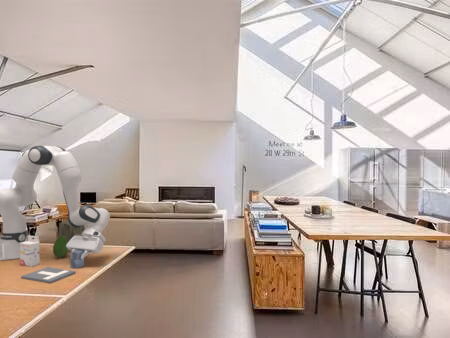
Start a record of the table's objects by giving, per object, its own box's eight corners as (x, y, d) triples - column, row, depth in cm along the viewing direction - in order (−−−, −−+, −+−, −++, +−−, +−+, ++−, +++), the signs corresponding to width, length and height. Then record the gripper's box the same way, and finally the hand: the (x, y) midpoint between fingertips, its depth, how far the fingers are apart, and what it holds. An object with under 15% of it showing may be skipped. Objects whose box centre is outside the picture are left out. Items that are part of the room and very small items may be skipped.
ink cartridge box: (19, 265, 162) (19, 237, 161) (28, 262, 166) (28, 235, 166) (31, 266, 159) (31, 238, 159) (39, 264, 163) (40, 236, 163)
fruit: (69, 254, 181) (69, 234, 181) (67, 258, 174) (67, 237, 174) (54, 256, 179) (54, 235, 179) (51, 259, 171) (51, 238, 171)
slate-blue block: (70, 267, 158) (70, 252, 158) (77, 265, 162) (77, 249, 162) (77, 268, 157) (77, 252, 157) (84, 266, 161) (84, 250, 161)
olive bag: (84, 249, 193) (84, 209, 193) (70, 252, 185) (71, 211, 185) (71, 246, 201) (71, 207, 201) (57, 249, 193) (57, 209, 193)
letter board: (21, 278, 142) (21, 276, 142) (47, 269, 156) (47, 266, 156) (50, 283, 136) (50, 281, 136) (75, 273, 150) (75, 271, 150)
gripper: (72, 230, 169) (57, 252, 160) (102, 233, 163) (88, 257, 153) (78, 237, 174) (64, 259, 164) (108, 240, 167) (95, 263, 158)
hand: (76, 258), depth 159 cm, fingers closed on slate-blue block, 4 cm apart
